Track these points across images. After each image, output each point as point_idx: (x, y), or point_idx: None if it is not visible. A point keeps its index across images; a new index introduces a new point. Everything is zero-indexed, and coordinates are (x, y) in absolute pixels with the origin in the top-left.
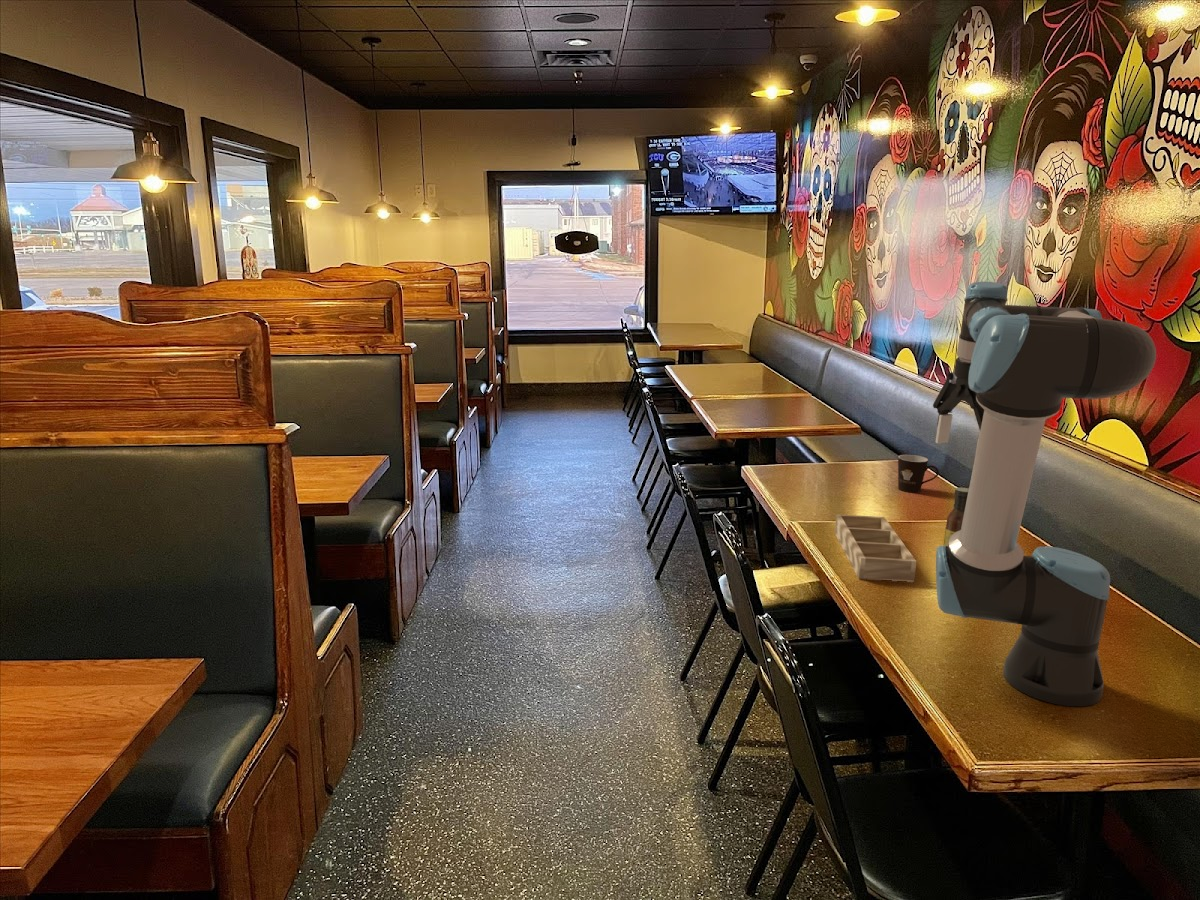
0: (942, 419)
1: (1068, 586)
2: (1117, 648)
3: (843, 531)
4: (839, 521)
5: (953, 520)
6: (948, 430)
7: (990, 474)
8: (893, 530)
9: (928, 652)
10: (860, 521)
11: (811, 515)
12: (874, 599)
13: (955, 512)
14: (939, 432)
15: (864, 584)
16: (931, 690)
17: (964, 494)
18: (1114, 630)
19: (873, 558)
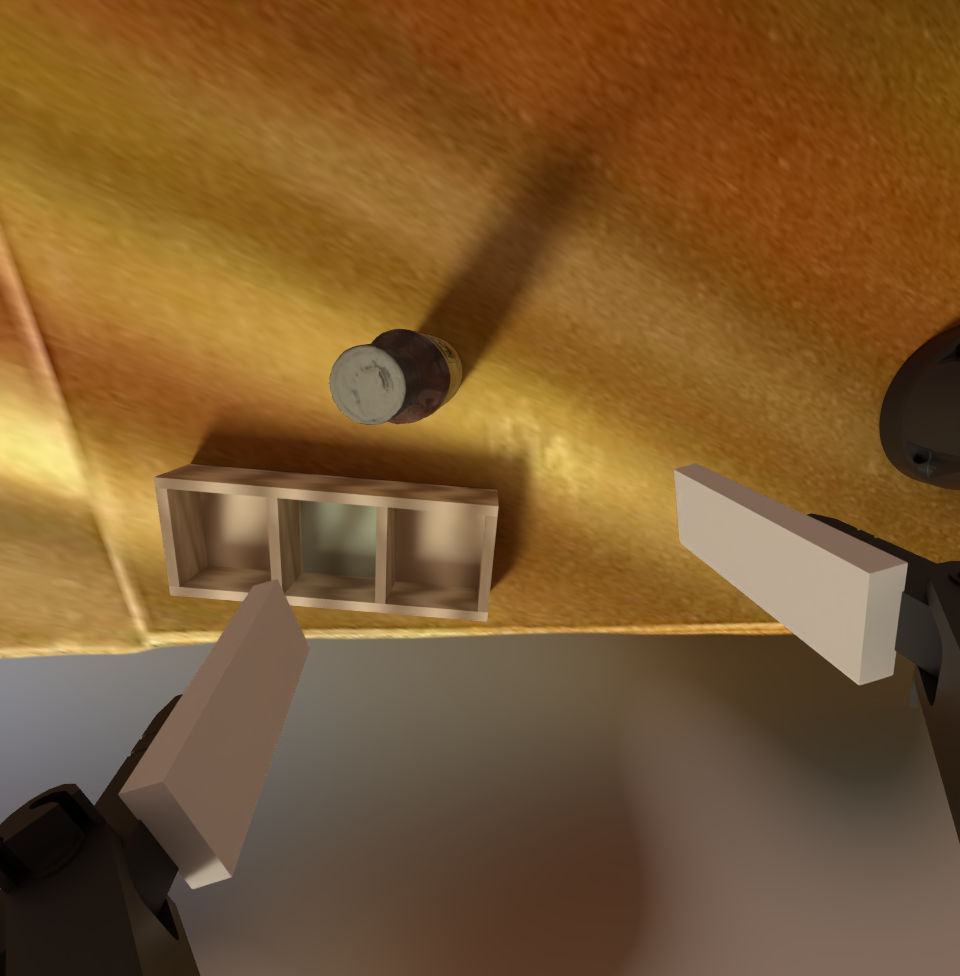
0: (237, 817)
1: None
2: (860, 159)
3: None
4: (220, 597)
5: (425, 416)
6: (249, 653)
7: None
8: (270, 488)
9: None
10: (181, 534)
11: (83, 592)
12: (587, 593)
13: (408, 411)
14: (285, 708)
15: (513, 591)
16: None
17: (407, 401)
18: (772, 101)
19: (487, 596)
